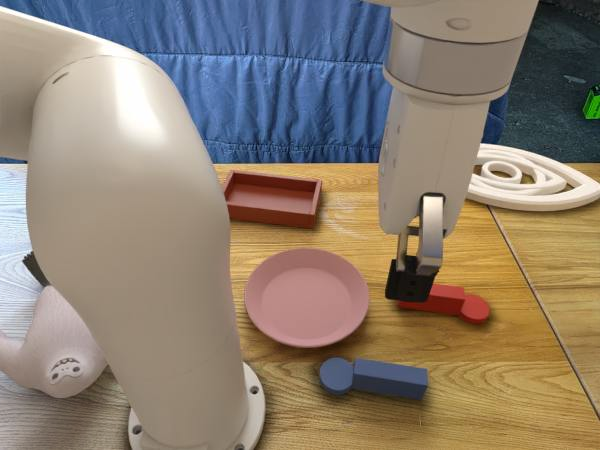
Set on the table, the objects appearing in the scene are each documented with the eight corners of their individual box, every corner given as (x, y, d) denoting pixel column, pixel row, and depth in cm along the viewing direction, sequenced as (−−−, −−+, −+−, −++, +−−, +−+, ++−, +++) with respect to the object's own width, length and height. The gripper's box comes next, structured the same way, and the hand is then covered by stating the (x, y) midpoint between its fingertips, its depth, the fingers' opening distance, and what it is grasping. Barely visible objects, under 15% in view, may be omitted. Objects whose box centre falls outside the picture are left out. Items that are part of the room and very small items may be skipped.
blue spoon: (316, 392, 44) (318, 376, 42) (321, 359, 47) (322, 344, 45) (422, 409, 43) (428, 394, 41) (421, 375, 46) (427, 360, 44)
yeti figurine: (125, 213, 56) (193, 318, 43) (135, 253, 60) (200, 360, 47) (-65, 273, 46) (-50, 429, 34) (-38, 315, 50) (-15, 469, 38)
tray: (321, 193, 67) (322, 179, 66) (313, 229, 62) (314, 215, 60) (231, 183, 69) (230, 169, 67) (216, 217, 63) (214, 202, 61)
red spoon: (485, 301, 53) (493, 285, 51) (489, 326, 50) (497, 310, 48) (397, 289, 54) (401, 273, 52) (397, 313, 51) (401, 297, 49)
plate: (258, 371, 46) (257, 360, 44) (236, 270, 56) (234, 259, 55) (387, 340, 49) (390, 329, 47) (343, 249, 59) (344, 238, 57)
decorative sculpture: (405, 143, 78) (407, 136, 77) (581, 158, 75) (586, 150, 74) (409, 197, 67) (411, 189, 66) (615, 217, 64) (621, 208, 63)
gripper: (383, 3, 33) (360, 186, 44) (389, 122, 20) (354, 335, 32) (487, 7, 32) (436, 192, 44) (561, 133, 20) (462, 346, 31)
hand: (402, 252), depth 38 cm, fingers open, 9 cm apart
